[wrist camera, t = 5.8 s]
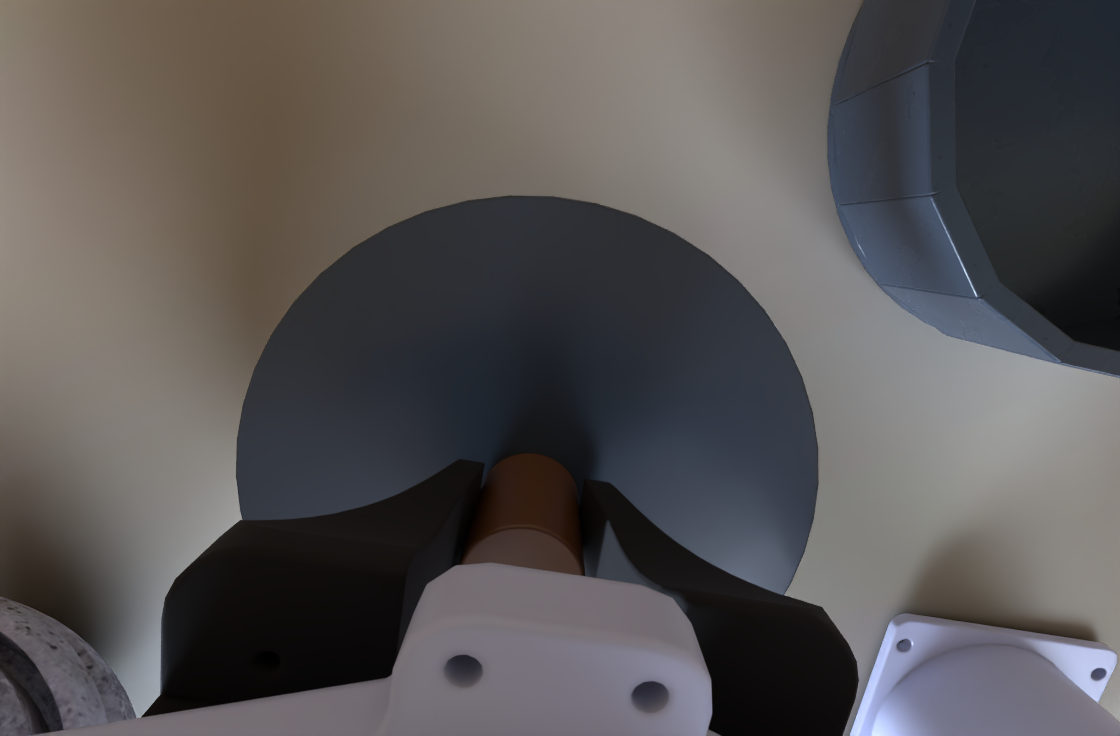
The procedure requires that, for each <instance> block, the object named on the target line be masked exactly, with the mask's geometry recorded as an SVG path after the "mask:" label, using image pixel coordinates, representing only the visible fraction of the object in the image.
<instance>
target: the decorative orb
mask: <svg viewBox="0 0 1120 736" xmlns="http://www.w3.org/2000/svg"><path fill="white" fill-rule="evenodd" d="M129 719H136V715H135V712H134V709H133V707H132V704H131V702H130V700H129V698H128V695H127V693H126V691H125V689H124V688H123V686H122V685H121V683H120V681H119V680H118V678H117V676H116V675H115V674H114V672H113V671H112V670H111V668H110V667H109V666H108V664H107V663H106V662H105V660H104V659H103V658H102V657H101V656H100V655H99V654H98V653H97V652H96V651H95V650H94V649H93V648H92V647H91V646H90V645H89V644H88V643H87V642H85V641H84V640H83V639H82V638H81V637H79V636H78V635H77V634H76V633H75V632H73V631H72V630H70V629H69V628H67V627H66V626H64V625H63V624H61V623H60V622H58V621H57V620H55V619H54V618H52V617H50V616H47V615H45V614H43V613H41V612H39V611H37V610H35V609H33V608H31V607H29V606H26V605H23V604H21V603H18V602H15V601H13V600H10V599H7V598H4V597H0V736H31V735H37V734H43V733H49V732H55V731H61V730H68V729H74V728H80V727H86V726H92V725H99V724H105V723H111V722H117V721H123V720H129Z"/></svg>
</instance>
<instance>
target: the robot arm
mask: <svg viewBox="0 0 1120 736" xmlns="http://www.w3.org/2000/svg"><path fill="white" fill-rule="evenodd" d="M484 465H485V463H483V462H477V461H471V460H464V459H458V460H456V461H455V462H453V463H452V464H450V465H449V466H447V467H446V468H444V469H442V470H441V471H439V472H438V473H436V474H434V475H433V476H431V477H429V478H428V479H426V480H424V481H423V482H421V483H419V484H417V485H415V486H413V487H411V488H409V489H407V490H405V491H403V492H401V493H399V494H397V495H394V496H392V497H389V498H387V499H384V500H381V501H378V502H376V503H373V504H370V505H366V506H363V507H359V508H354V509H350V510H346V511H342V512H338V513H333V514H328V515H321V516H315V517H306V518H297V519H282V520H240V521H239V522H237V523H236V524H235V525H234V526H232V527H231V528H230V529H229V530H228V531H226V532H225V533H224V534H223V535H222V536H220V537H219V538H218V539H217V540H216V541H215V542H214V543H213V544H212V545H211V546H210V547H209V548H208V549H206V550H205V551H204V552H203V553H202V554H201V555H200V556H199V557H198V558H197V559H196V560H195V561H194V562H193V563H192V564H190V565H189V566H188V567H187V568H186V569H185V570H184V571H183V572H182V573H181V574H180V575H179V576H178V577H177V578H176V579H175V581H174V583H173V584H172V586H171V588H170V590H169V592H168V594H167V595H166V597H165V602H164V608H163V613H162V621H161V689H160V694H161V695H160V696H159V697H158V698H157V699H156V701H155V702H154V703H153V704H152V705H151V706H150V708H149V709H148V710H147V711H146V712H145V713H144V715H143V716H142V717H141V718H136V719H129V720H123V721H117V722H111V723H105V724H99V725H92V726H86V727H80V728H74V729H68V730H61V731H55V732H49V733H43V734H37V735H31V736H843V733H844V730H845V727H846V724H847V722H848V719H849V716H850V713H851V710H852V707H853V704H854V701H855V698H856V693H857V687H858V682H859V677H858V669H857V661H856V659H855V657H854V655H853V653H852V651H851V648H850V646H849V644H848V643H847V641H846V640H845V638H844V637H843V636H842V634H841V633H840V631H839V630H838V629H837V627H836V626H835V625H834V623H833V622H832V620H831V619H830V618H829V616H828V615H827V613H826V612H825V611H824V609H823V608H822V607H820V606H817V605H814V604H810V603H807V602H804V601H801V600H797V599H794V598H791V597H788V596H784V595H781V594H778V593H775V592H772V591H770V590H767V589H765V588H762V587H760V586H757V585H755V584H752V583H750V582H747V581H745V580H743V579H741V578H739V577H736V576H734V575H732V574H730V573H728V572H726V571H724V570H722V569H720V568H718V567H716V566H715V565H713V564H711V563H709V562H707V561H705V560H704V559H702V558H700V557H699V556H697V555H695V554H694V553H692V552H691V551H689V550H688V549H686V548H685V547H683V546H682V545H680V544H679V543H678V542H676V541H675V540H673V539H672V538H671V537H669V536H668V535H667V534H666V533H664V532H663V531H662V530H661V529H660V528H658V527H657V526H656V525H655V524H654V523H652V522H651V521H650V520H649V519H648V518H647V517H646V516H645V515H644V514H643V513H641V512H640V511H639V510H638V509H637V508H636V507H635V506H634V505H633V504H632V503H631V502H630V501H629V500H628V499H627V498H626V497H625V496H624V495H623V494H622V493H621V492H620V491H619V490H618V489H617V488H616V487H615V486H614V485H613V484H611V483H610V482H604V481H597V480H591V479H584V484H583V489H582V494H581V499H580V504H579V510H580V521H581V531H582V542H583V553H584V564H585V575H586V576H579V575H572V574H566V573H559V572H552V571H545V570H539V569H532V568H525V567H519V566H512V565H505V564H498V563H492V562H491V563H479V564H467V565H459V562H460V559H461V555H462V552H463V548H464V545H465V541H466V538H467V535H468V531H469V528H470V524H471V521H472V517H473V514H474V511H475V508H476V504H477V501H478V498H479V494H480V491H481V484H482V478H483V471H484ZM902 639H904V641H903V642H901V643H900V644H898V642H899V641H900V640H902ZM1116 663H1117V654H1116V653H1115V652H1114V651H1113V650H1112V649H1111V648H1109V647H1108V646H1107V645H1105V644H1103V643H1100V642H1094V641H1087V640H1081V639H1074V638H1067V637H1061V636H1054V635H1048V634H1041V633H1034V632H1028V631H1021V630H1014V629H1008V628H1001V627H995V626H988V625H981V624H975V623H968V622H961V621H955V620H948V619H942V618H935V617H928V616H922V615H915V614H908V613H902V614H899V615H896V616H895V617H894V618H893V619H892V620H891V621H890V623H889V625H888V628H887V631H886V634H885V637H884V640H883V642H882V645H881V648H880V651H879V654H878V657H877V659H876V662H875V665H874V668H873V671H872V674H871V676H870V679H869V682H868V685H867V688H866V691H865V693H864V696H863V699H862V702H861V705H860V708H859V710H858V713H857V716H856V719H855V722H854V725H853V728H852V730H851V733H850V736H1120V722H1119V721H1118V720H1117V719H1116V718H1115V717H1113V716H1112V715H1111V714H1110V713H1109V712H1108V711H1106V710H1105V709H1104V708H1103V707H1102V706H1101V705H1100V704H1098V702H1099V700H1100V698H1101V696H1102V694H1103V691H1104V689H1105V687H1106V685H1107V683H1108V681H1109V679H1110V676H1111V674H1112V672H1113V670H1114V668H1115V666H1116Z"/></svg>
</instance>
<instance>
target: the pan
mask: <svg viewBox="0 0 1120 736" xmlns="http://www.w3.org/2000/svg"><path fill="white" fill-rule="evenodd" d="M828 164H829V172H830V180H831V187H832V192H833V196H834V200H835V203H836V207H837V211H838V215H839V218H840V221H841V223H842V225H843V228H844V230H845V233H846V235H847V237H848V240H849V242H850V244H851V246H852V248H853V249H854V251H855V253H856V254H857V256H858V258H859V259H860V261H861V263H862V264H863V266H864V268H865V269H866V270H867V272H868V273H869V274H870V275H871V277H872V278H873V279H874V280H875V281H876V283H877V284H878V285H879V286H880V287H881V289H882V290H883V291H884V292H885V293H886V294H888V295H889V296H890V297H891V298H892V299H893V300H894V301H895V302H896V303H898V304H899V305H900V306H901V307H902V308H903V309H905V310H906V311H908V312H909V313H911V314H913V315H914V316H916V317H917V318H919V319H920V320H922V321H923V322H925V323H927V324H929V325H931V326H933V327H935V328H937V329H938V330H939V331H941V332H942V333H943V334H945V335H947V336H951V337H955V338H959V339H962V340H966V341H970V342H974V343H978V344H982V345H986V346H990V347H994V348H998V349H1001V350H1005V351H1009V352H1013V353H1017V354H1021V355H1025V356H1029V357H1033V358H1036V359H1040V360H1044V361H1048V362H1052V363H1056V364H1060V365H1064V366H1069V367H1073V368H1078V369H1082V370H1087V371H1091V372H1095V373H1100V374H1104V375H1109V376H1113V377H1118V378H1120V0H865V1H864V3H863V5H862V7H861V9H860V11H859V13H858V15H857V17H856V19H855V21H854V23H853V25H852V27H851V30H850V33H849V36H848V38H847V41H846V44H845V47H844V49H843V52H842V55H841V58H840V61H839V65H838V69H837V73H836V77H835V82H834V86H833V90H832V95H831V103H830V111H829V120H828Z"/></svg>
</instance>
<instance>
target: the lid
mask: <svg viewBox="0 0 1120 736" xmlns="http://www.w3.org/2000/svg"><path fill="white" fill-rule="evenodd" d="M458 459H464V460H471V461H477V462H483V463H485V465H484V471H483V478H482V484H481V491H480V494H479V498H478V501H477V504H476V508H475V511H474V514H473V517H472V521H471V524H470V528H469V531H468V535H467V538H466V541H465V545H464V548H463V552H462V555H461V559H460V562H459V565H467V564H479V563H491V562H492V563H498V564H505V565H512V566H519V567H525V568H532V569H539V570H545V571H552V572H559V573H566V574H572V575H579V576H586V575H585V564H584V553H583V542H582V531H581V521H580V510H579V504H580V499H581V494H582V489H583V484H584V479H591V480H597V481H604V482H610V483H611V484H613V485H614V486H615V487H616V488H617V489H618V490H619V491H620V492H621V493H622V494H623V495H624V496H625V497H626V498H627V499H628V500H629V501H630V502H631V503H632V504H633V505H634V506H635V507H636V508H637V509H638V510H639V511H640V512H641V513H643V514H644V515H645V516H646V517H647V518H648V519H649V520H650V521H651V522H652V523H654V524H655V525H656V526H657V527H658V528H660V529H661V530H662V531H663V532H664V533H666V534H667V535H668V536H669V537H671V538H672V539H673V540H675V541H676V542H678V543H679V544H680V545H682V546H683V547H685V548H686V549H688V550H689V551H691V552H692V553H694V554H695V555H697V556H699V557H700V558H702V559H704V560H705V561H707V562H709V563H711V564H713V565H715V566H716V567H718V568H720V569H722V570H724V571H726V572H728V573H730V574H732V575H734V576H736V577H739V578H741V579H743V580H745V581H747V582H750V583H752V584H755V585H757V586H760V587H762V588H765V589H767V590H770V591H772V592H775V593H778V594H781V595H784V594H785V592H786V591H787V589H788V587H789V586H790V584H791V582H792V580H793V577H794V575H795V573H796V570H797V568H798V566H799V563H800V561H801V559H802V556H803V554H804V552H805V548H806V544H807V541H808V537H809V534H810V530H811V526H812V523H813V519H814V512H815V505H816V498H817V490H818V445H817V438H816V431H815V425H814V418H813V412H812V408H811V405H810V402H809V399H808V395H807V392H806V389H805V385H804V382H803V379H802V376H801V374H800V372H799V369H798V367H797V365H796V363H795V361H794V359H793V357H792V354H791V352H790V350H789V348H788V346H787V344H786V342H785V340H784V339H783V337H782V336H781V334H780V333H779V331H778V330H777V328H776V327H775V325H774V324H773V322H772V321H771V319H770V318H769V316H768V314H767V313H766V311H765V310H764V309H763V308H762V307H761V306H760V304H759V303H758V302H757V301H756V300H755V299H754V298H753V296H752V295H751V294H750V293H749V292H748V291H747V290H746V289H745V287H744V286H743V285H742V284H741V283H740V282H739V281H738V280H737V279H736V278H735V277H734V276H732V275H731V274H730V273H729V272H728V271H727V270H725V269H724V268H723V267H722V266H721V265H720V264H718V263H717V262H716V261H715V260H714V259H713V258H711V257H710V256H709V255H708V254H706V253H705V252H703V251H701V250H700V249H698V248H697V247H695V246H694V245H692V244H690V243H689V242H687V241H686V240H684V239H683V238H681V237H680V236H678V235H676V234H675V233H673V232H671V231H669V230H667V229H664V228H662V227H660V226H658V225H656V224H654V223H651V222H649V221H647V220H645V219H643V218H640V217H638V216H636V215H633V214H630V213H626V212H623V211H620V210H616V209H613V208H610V207H607V206H603V205H600V204H597V203H592V202H585V201H579V200H573V199H566V198H560V197H554V196H511V195H510V196H501V197H493V198H484V199H476V200H467V201H464V202H460V203H456V204H452V205H448V206H444V207H440V208H436V209H433V210H429V211H425V212H423V213H421V214H418V215H416V216H413V217H411V218H409V219H406V220H404V221H401V222H399V223H396V224H394V225H392V226H389V227H387V228H385V229H384V230H382V231H380V232H379V233H377V234H375V235H374V236H372V237H370V238H368V239H367V240H365V241H363V242H362V243H360V244H358V245H357V246H355V247H353V248H352V249H350V250H349V251H348V252H347V253H345V254H344V255H343V256H342V257H340V258H339V259H338V260H337V261H335V262H334V263H333V264H332V265H330V266H329V267H328V268H327V269H325V270H324V271H323V272H322V273H320V275H319V276H318V277H317V278H316V279H315V280H314V281H313V282H312V283H311V284H310V285H309V286H308V287H307V288H306V290H305V291H304V292H303V293H302V294H301V295H300V296H299V297H298V298H297V299H296V300H295V301H294V302H293V304H292V305H291V307H290V308H289V310H288V311H287V312H286V314H285V315H284V317H283V318H282V320H281V321H280V323H279V324H278V325H277V327H276V328H275V330H274V331H273V333H272V334H271V336H270V338H269V340H268V342H267V344H266V346H265V348H264V350H263V352H262V354H261V356H260V358H259V360H258V362H257V364H256V366H255V369H254V372H253V375H252V378H251V381H250V384H249V387H248V390H247V393H246V396H245V399H244V403H243V407H242V413H241V419H240V425H239V431H238V437H237V460H236V479H237V487H238V496H239V504H240V512H241V515H242V519H243V520H282V519H297V518H306V517H315V516H321V515H328V514H333V513H338V512H342V511H346V510H350V509H354V508H359V507H363V506H366V505H370V504H373V503H376V502H378V501H381V500H384V499H387V498H389V497H392V496H394V495H397V494H399V493H401V492H403V491H405V490H407V489H409V488H411V487H413V486H415V485H417V484H419V483H421V482H423V481H424V480H426V479H428V478H429V477H431V476H433V475H434V474H436V473H438V472H439V471H441V470H442V469H444V468H446V467H447V466H449V465H450V464H452V463H453V462H455V461H456V460H458Z"/></svg>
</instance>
